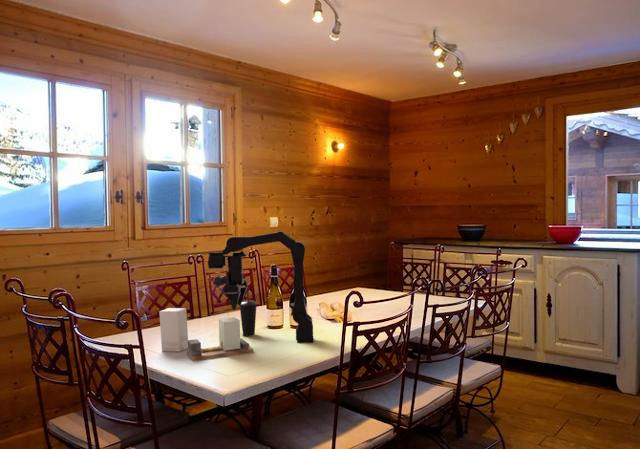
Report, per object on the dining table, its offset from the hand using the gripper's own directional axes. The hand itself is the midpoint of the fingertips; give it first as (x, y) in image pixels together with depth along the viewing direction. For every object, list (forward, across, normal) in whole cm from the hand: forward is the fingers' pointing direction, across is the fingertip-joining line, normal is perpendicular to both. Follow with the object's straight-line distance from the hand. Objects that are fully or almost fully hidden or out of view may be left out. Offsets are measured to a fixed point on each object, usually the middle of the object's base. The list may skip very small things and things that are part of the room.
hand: (236, 307), depth 207 cm
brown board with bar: (+14, +15, -4) cm, 21 cm away
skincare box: (+14, +10, -22) cm, 28 cm away
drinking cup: (+14, -13, +2) cm, 19 cm away
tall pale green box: (+13, +13, 0) cm, 18 cm away
